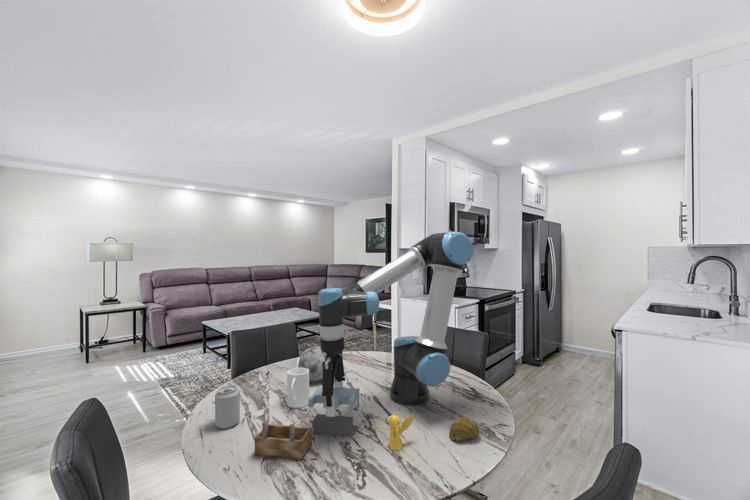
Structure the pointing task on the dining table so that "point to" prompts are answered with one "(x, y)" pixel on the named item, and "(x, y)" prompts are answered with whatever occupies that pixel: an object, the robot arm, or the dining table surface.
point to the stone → (313, 362)
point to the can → (227, 407)
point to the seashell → (463, 429)
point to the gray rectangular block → (333, 425)
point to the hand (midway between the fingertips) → (335, 408)
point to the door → (336, 397)
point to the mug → (297, 387)
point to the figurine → (397, 430)
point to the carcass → (283, 441)
